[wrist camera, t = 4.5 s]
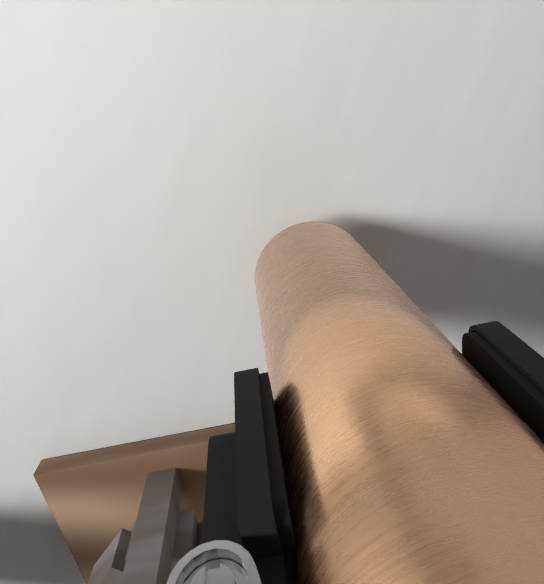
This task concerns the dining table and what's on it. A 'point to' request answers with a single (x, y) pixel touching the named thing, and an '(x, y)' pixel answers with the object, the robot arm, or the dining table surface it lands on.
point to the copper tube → (389, 430)
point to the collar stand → (131, 505)
